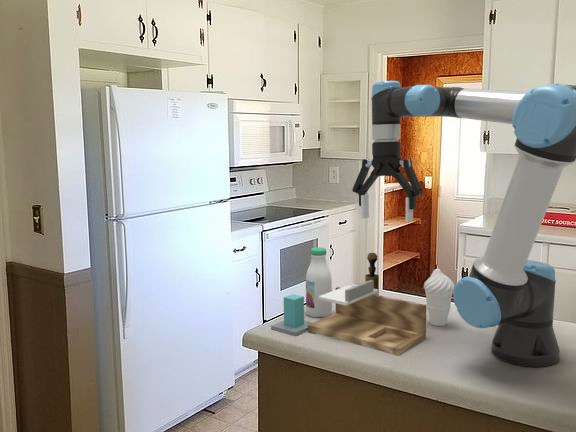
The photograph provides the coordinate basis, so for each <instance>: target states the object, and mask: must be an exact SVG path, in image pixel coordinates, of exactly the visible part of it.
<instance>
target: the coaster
mask: <svg viewBox="0 0 576 432" xmlns="http://www.w3.org/2000/svg"><path fill="white" fill-rule="evenodd" d="M311 323H313V321H308V320H305V319H304V325H301V326H299V327H297V328H293V327H289V326H286V325H284V320H281V321H278V322H277V323H274V324H272V325H270V328H271V330H274V331H277V332H280V333H284V334H287V335H291V336H294V337H298V336H301V335H302V334H304V333H306V332H308V325H309V324H311Z"/></svg>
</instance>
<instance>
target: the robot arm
mask: <svg viewBox="0 0 576 432" xmlns="http://www.w3.org/2000/svg"><path fill="white" fill-rule="evenodd" d="M401 85H402V84H401V82H400V81H398V80H384V81H376V82H374V83H373V84H372V86H371V87H372V88H371V98H370V99H371V100H370V101H371V140H373V142H372V143H371V155H372V159H370V158H365V159H362V161H361V168H360V170H359V173H358V174H357V178H356V180H355V182H354V185H353V187H352V188H351V189H352V192H353V193H355V194H358V206H359V207H360V210H361V211H360V215H361V216H360V217H361V218H360V220H365V219H369V217H370V215H369V213H370V212H369V211H370V210H369V209H370V207H369V206H370V205H369V204H370V200H369V194H368V191H370V190H369V189H370V188H371V187H372V186H373V185H374V183H375V182H376V180H377V179H378V178H379V177H385V176H386V177H393V178H394V179H395V180H396V182H397V183H398V184H399V185H400V186H401V188H402V190H403V191H404V192H405V194H406V195H407V197H405V223H411V222H414V210H416V208H417V197H418V196H421V195H423V194H424V190H423V187H422V186H421V184H420V181H419V179H418V177H417V175H416V173H415V170H414V168H413V161H412V159H411V158H407V159H406V158H405V159H403V160H402V159H401V153H402V151H401V150H402V148H401V147H402V146H401V144H402V143H401V142H400V141H399V140H400V139H401V138H402V137H401V130H402V129H401V126H402V125H401V122H402V121H401V118H414V117H415V118H417V117H418V118H421V117H425V118H426V117H429V118H430V117H435V118H436V117H442V118H443V117H444V118H445V117H449V118H457V119H467V120H468V119H469V120H474V121H475V120H476V121H483V122H492V123H500V124H508V125H512V128H513V129H514V130H513V132H514V133H513V134H514V136H515V137H516V140H515V142H514V147H515V148H514V149H516V151H517V153H518V158H517V159H516V160H517V161H516V163H515V166H514V168H513V172H512V174H511V176H510V177H511V178H510V179H509V180H510V181H509V183H508V185H507V186H508V187H507V189H506V192H505V195H504V197H503V199H502V203H501V206H500V209H499V212H498V215H497V218H496V220H495V223H494V226H493V229H492V232H491V234H490V238H489V240H488V242H487V246H486V248H485V251H484V254H483V255H482V256H479V257H476V258H475V260H473V263H472V266H471V269H470V272H469V275H467V276H465V277H462V278H461V279H459V280H458V281H457V282H456V284H454V290H453V292H452V298H453V303H454V307H456V310H457V313H458V315H459V316H460V317H461V318H462V320H463V321H464V322H466V323H467V324H468V325H470V326H471V327H474V328H477V329H488V328H495V327H496V326H497V327H496V330H495V333H494V335H493V337H492V340H491V350H490V351H491V353H492V355H493V356H494V357H496V358H497V359H499V360H501V361H503V362H506V363H509V364H513V365H517V366H523V367H532V368H534V367H535V368H542V367H548V366H549V367H550V366H552V365H553V366H554V365H555V364H557V363H558V362H559V361H560V352H561V351H560V347H559V344H558V340H557V337H556V333H555V329H554V326H553V325H554V309H555V295H556V293H555V292H556V284H557V279H556V270H555V267H553V266H552V265H550V264H548V263H545V262H541V261H535V260H529V257H530V255H531V251H532V249H533V246H534V243H535V241H536V239H537V236H538V234H539V231H540V229H541V226H542V224H543V220H544V218H545V216H546V213H547V211H548V208H549V205H550V204H551V201H552V199H553V195H554V193H555V191H556V188H557V185H558V183H559V180H560V177H561V175H562V173H563V170H564V168H565V167H568V166H570V165H573V164H574V163H575V162H576V85H573V84H562V83H553V84H545V85H540V86H537V87H534V88H532V89H531V90H529V91H518V90H517V91H515V90H499V89H485V88H470V87H469V88H467V87H466V88H465V87H461V86H452V87H451V86H434V85H431V84H415V85H412V86H405V87H404V86H403V87H401ZM371 167H373V169H372V171H371V172H370V175H369V176H368V177H367V175H368V174H369V171H370V169H371ZM401 167H402V168H403V170H404V172H405V175H406V176H407V177H406V176H404V173H403V172H402V171H401V169H400V168H401ZM406 178H407V179H408V180H407V179H406Z"/></svg>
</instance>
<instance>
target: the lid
mask: <svg viewBox="0 0 576 432" xmlns="http://www.w3.org/2000/svg"><path fill="white" fill-rule="evenodd" d="M373 294H375V295H378V289H374V281H373V280H369V281H367V282H365V281H364V282H362V283H360V284H357V285H356V284H352V283H351V284H348V285H345V286H342V287H340V289H337V290H336V289H334V290H332V292H329V293H326V294H324V295H321V296H318V299H319V300H323V301H328V302H332V304H333V303H334V304H336V303H337V304H341V305H345V306H347V305H349V304H351V303H354V302H356V301H358V300H361V299H363V298H366V297H368V296H370V295H373Z"/></svg>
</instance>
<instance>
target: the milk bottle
mask: <svg viewBox="0 0 576 432" xmlns="http://www.w3.org/2000/svg"><path fill="white" fill-rule="evenodd" d="M310 256H311V260H310V263H309V266H308V267H307V270H306V275H305V307H306V308H305V313H306V314H307V316H309V317H313V318H325V317H328V316H330V315H332V314H333V303H332V302H328V301H323V300H319V299H318V296H321V295H324V294H326V293H329V292H332V291H333V290H332V288H333V286H332V285H333V283H332V282H333V281H332V272H331V270H330V266H329V265H328V263H327V259H326V257H327V249H326V248H325V247H312V248H311V249H310Z"/></svg>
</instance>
